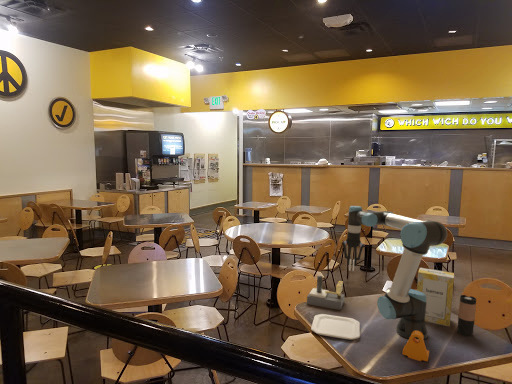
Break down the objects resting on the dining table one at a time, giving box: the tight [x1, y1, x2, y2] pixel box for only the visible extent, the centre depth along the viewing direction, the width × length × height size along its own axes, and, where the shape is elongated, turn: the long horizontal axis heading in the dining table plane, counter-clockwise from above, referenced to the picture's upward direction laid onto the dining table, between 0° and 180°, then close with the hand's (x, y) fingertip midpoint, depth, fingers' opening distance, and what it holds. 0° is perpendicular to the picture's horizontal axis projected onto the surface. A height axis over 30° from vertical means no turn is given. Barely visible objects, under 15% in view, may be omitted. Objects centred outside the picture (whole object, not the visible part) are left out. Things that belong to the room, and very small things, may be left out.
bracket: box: [402, 331, 430, 362], centre depth 172 cm, size 11×7×12 cm, turn 60°
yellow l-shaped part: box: [325, 280, 344, 298], centre depth 230 cm, size 10×10×9 cm
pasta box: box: [416, 267, 455, 328], centre depth 213 cm, size 18×10×28 cm, turn 62°
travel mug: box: [457, 294, 477, 337], centre depth 197 cm, size 8×8×20 cm
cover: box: [308, 275, 329, 298], centre depth 233 cm, size 11×10×12 cm
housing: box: [306, 290, 345, 311], centre depth 232 cm, size 14×21×5 cm, turn 69°
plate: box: [310, 313, 361, 340], centre depth 197 cm, size 25×25×2 cm
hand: (351, 270), depth 221 cm, fingers closed
